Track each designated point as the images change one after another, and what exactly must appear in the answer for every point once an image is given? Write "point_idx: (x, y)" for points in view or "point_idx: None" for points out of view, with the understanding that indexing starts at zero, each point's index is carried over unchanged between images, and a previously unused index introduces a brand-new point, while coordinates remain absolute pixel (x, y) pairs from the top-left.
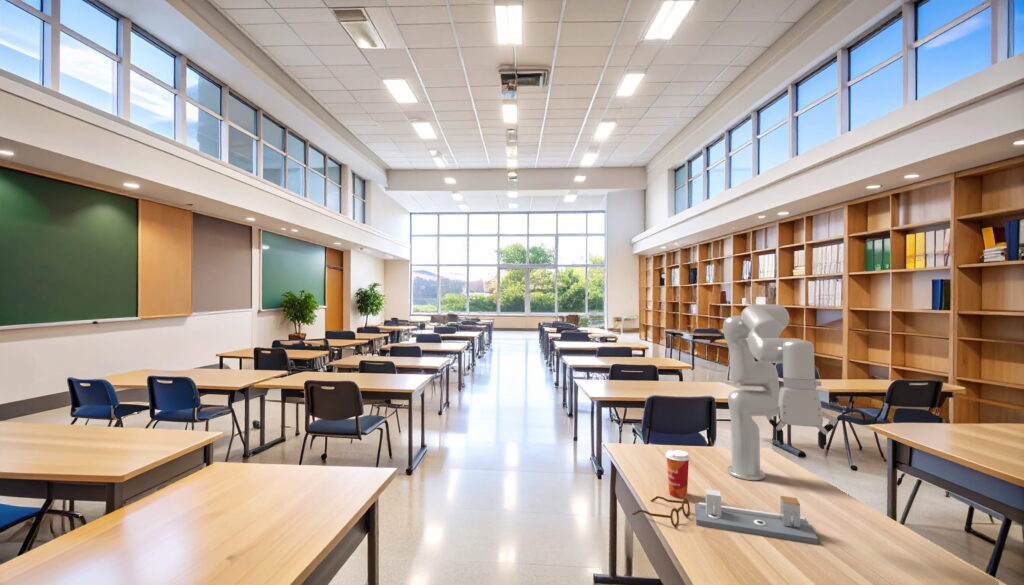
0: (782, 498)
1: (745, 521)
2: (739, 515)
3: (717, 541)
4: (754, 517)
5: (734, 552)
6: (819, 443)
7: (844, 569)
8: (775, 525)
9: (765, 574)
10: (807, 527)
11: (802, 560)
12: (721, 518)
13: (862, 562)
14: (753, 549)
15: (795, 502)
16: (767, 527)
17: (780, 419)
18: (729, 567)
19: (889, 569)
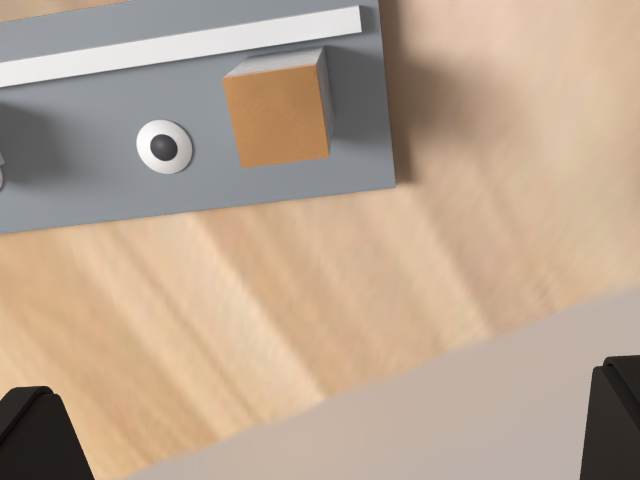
0: (235, 121)
1: (106, 160)
2: (67, 105)
3: (58, 317)
4: (133, 92)
5: (124, 360)
6: (610, 469)
7: (447, 319)
8: (229, 139)
9: (222, 431)
10: (368, 87)
11: (324, 320)
12: (11, 180)
13: (526, 247)
14: (174, 318)
15: (306, 148)
16: (199, 177)
17: None
18: (130, 436)
19: (606, 256)
